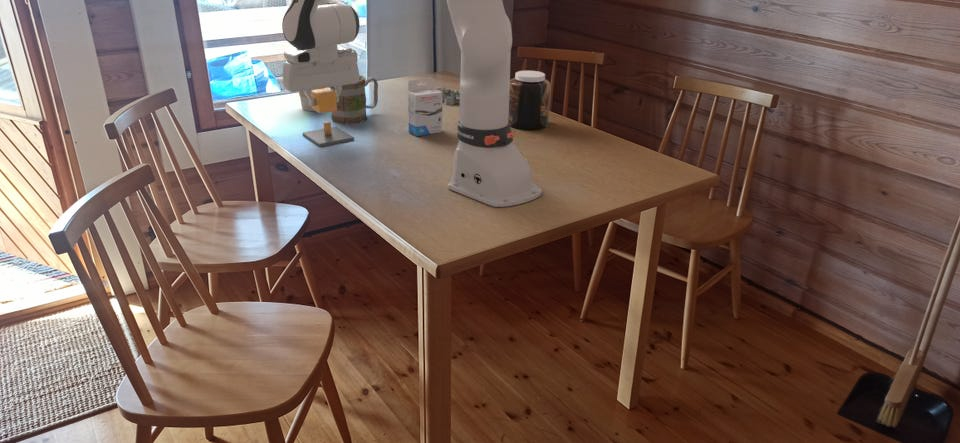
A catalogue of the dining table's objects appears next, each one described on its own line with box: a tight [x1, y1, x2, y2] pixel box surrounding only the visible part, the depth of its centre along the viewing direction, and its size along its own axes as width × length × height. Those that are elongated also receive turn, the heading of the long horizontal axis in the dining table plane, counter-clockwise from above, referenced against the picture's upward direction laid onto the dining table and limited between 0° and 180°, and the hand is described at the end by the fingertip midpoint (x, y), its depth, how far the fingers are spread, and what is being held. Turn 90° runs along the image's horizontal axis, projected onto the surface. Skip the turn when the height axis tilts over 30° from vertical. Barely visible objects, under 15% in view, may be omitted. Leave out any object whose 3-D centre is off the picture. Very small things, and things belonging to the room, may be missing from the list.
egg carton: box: [436, 87, 460, 106], centre depth 219 cm, size 11×8×4 cm
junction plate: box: [302, 121, 355, 148], centre depth 183 cm, size 11×10×4 cm
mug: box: [329, 74, 379, 125], centre depth 198 cm, size 16×11×12 cm
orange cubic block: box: [311, 87, 337, 114], centre depth 179 cm, size 5×5×5 cm
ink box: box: [407, 77, 443, 137], centre depth 187 cm, size 8×5×15 cm, turn 123°
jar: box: [508, 70, 551, 131], centre depth 195 cm, size 12×12×15 cm
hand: (324, 103), depth 179 cm, fingers closed on orange cubic block, 5 cm apart
